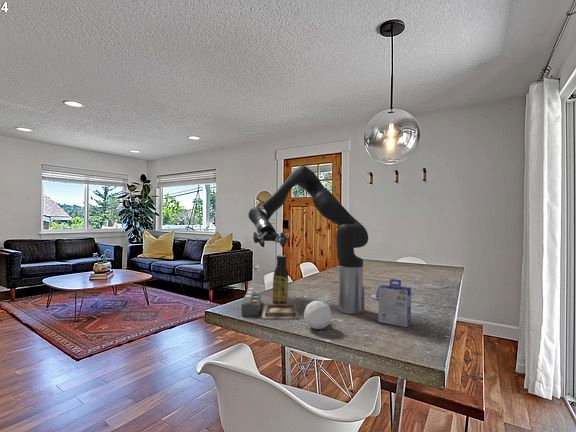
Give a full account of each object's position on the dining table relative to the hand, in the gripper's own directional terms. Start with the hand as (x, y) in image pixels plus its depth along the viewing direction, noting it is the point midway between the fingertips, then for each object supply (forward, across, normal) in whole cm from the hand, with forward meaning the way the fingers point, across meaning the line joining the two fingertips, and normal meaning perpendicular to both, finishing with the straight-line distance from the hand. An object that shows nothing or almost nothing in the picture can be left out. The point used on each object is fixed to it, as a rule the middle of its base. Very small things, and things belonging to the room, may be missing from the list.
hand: (273, 245), depth 132 cm
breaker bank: (+14, -10, +20) cm, 27 cm away
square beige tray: (+23, -1, +17) cm, 28 cm away
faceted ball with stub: (+40, +7, +10) cm, 41 cm away
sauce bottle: (+11, +3, +22) cm, 24 cm away
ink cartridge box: (+43, +33, +8) cm, 55 cm away
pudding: (+15, +51, +20) cm, 56 cm away
